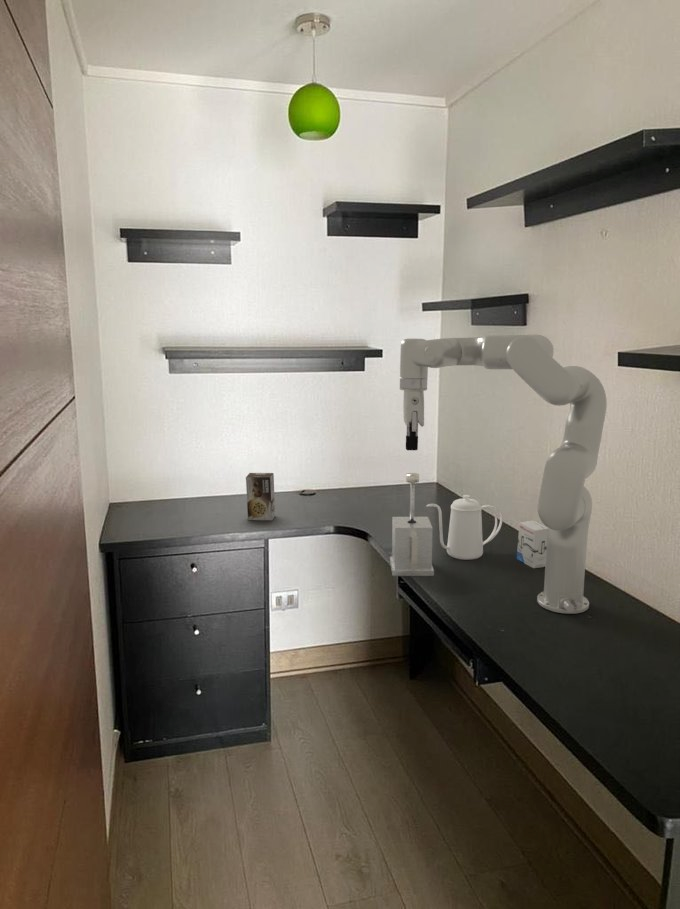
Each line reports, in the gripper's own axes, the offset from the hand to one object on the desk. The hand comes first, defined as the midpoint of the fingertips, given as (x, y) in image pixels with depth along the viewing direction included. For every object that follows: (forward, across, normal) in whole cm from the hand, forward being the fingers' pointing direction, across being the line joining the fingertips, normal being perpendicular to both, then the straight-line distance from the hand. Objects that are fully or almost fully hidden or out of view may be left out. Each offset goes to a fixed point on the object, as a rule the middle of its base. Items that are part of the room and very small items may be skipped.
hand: (411, 449), depth 193 cm
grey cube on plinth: (+35, -2, -1) cm, 35 cm away
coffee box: (+36, +49, +48) cm, 78 cm away
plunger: (+25, -1, -1) cm, 25 cm away
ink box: (+35, +3, -37) cm, 51 cm away
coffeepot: (+35, +10, -18) cm, 41 cm away
